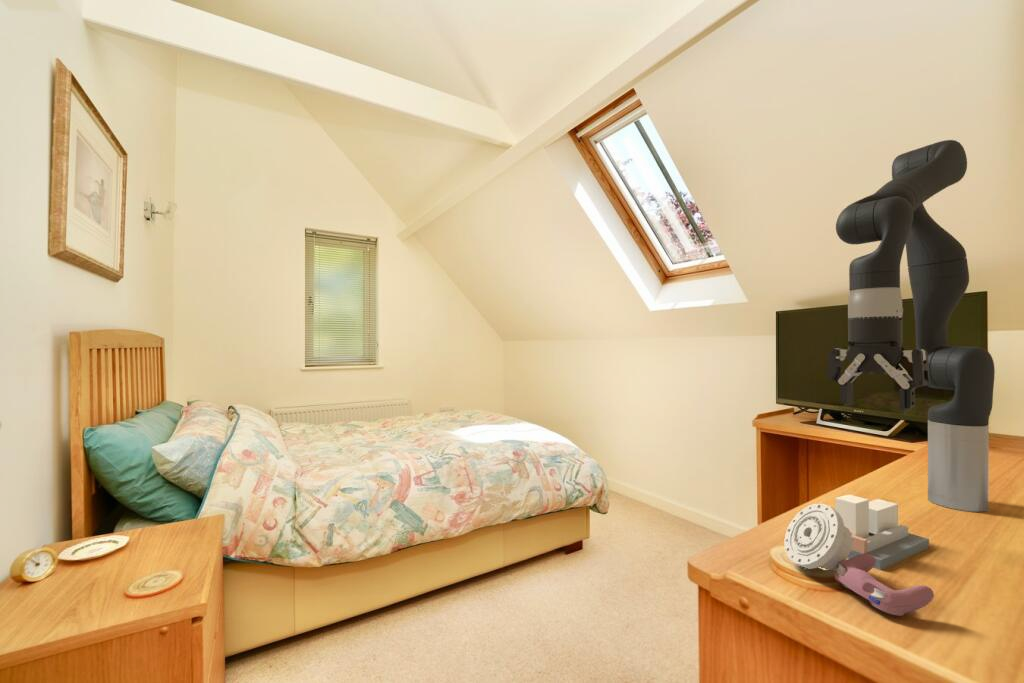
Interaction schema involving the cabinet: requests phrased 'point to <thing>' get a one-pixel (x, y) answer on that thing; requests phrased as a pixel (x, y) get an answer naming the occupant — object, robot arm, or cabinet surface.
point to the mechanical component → (818, 538)
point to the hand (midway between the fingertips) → (875, 408)
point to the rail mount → (882, 545)
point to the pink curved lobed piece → (880, 587)
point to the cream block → (882, 516)
